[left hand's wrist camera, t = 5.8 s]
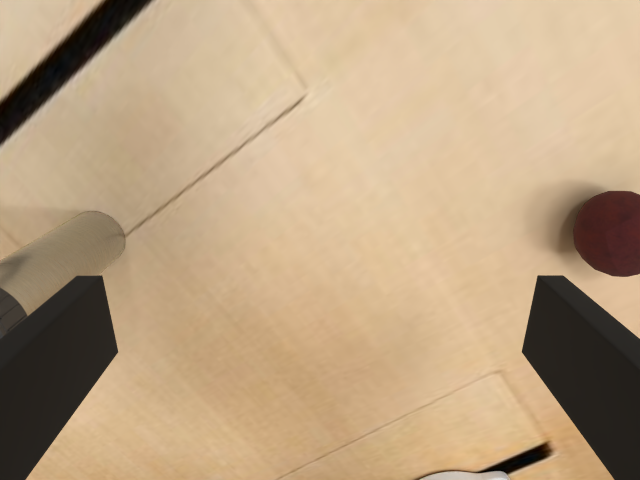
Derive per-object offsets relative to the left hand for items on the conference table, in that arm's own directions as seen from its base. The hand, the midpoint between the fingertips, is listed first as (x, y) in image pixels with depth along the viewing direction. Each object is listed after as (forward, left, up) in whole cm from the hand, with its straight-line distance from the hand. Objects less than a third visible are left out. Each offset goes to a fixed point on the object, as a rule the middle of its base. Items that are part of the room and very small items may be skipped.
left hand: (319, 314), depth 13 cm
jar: (+8, -22, -28) cm, 37 cm away
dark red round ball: (+6, +27, -28) cm, 39 cm away
